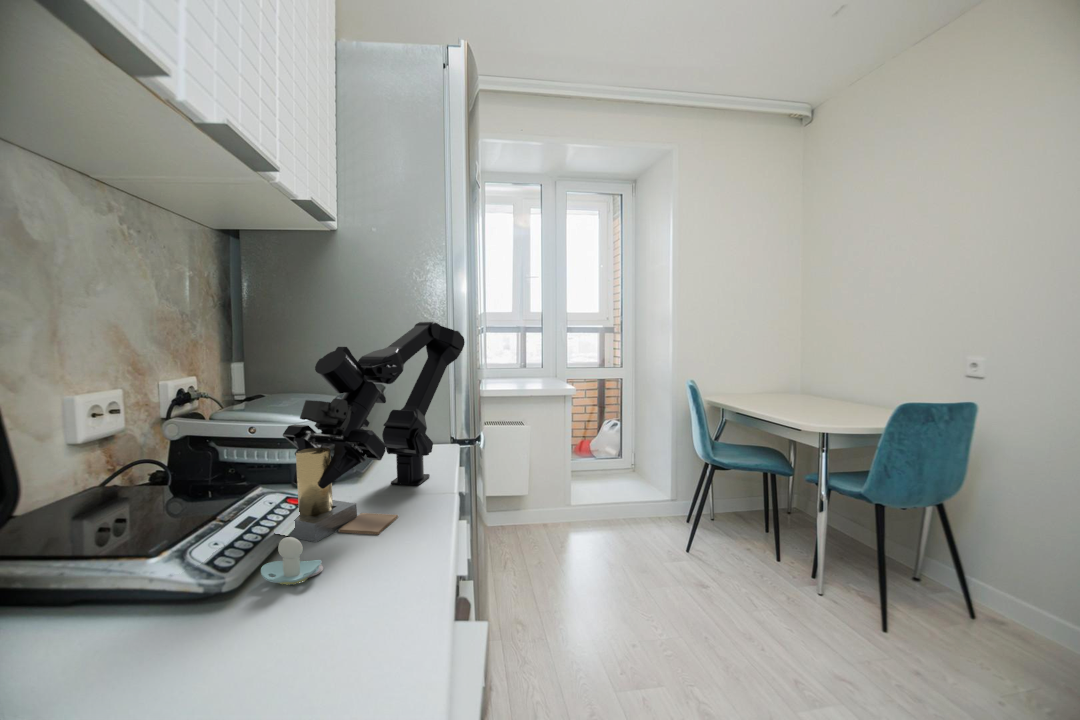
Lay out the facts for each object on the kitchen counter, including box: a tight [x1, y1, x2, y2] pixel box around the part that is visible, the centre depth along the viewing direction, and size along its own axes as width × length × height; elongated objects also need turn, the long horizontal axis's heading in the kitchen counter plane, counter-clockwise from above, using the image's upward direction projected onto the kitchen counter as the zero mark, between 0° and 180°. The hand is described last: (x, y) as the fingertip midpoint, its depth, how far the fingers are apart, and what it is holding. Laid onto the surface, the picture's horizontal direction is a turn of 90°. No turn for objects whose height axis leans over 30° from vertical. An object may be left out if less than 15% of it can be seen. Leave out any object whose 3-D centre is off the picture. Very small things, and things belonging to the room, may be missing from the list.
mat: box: [338, 512, 399, 536], centre depth 79 cm, size 7×7×1 cm
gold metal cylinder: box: [295, 447, 334, 517], centre depth 78 cm, size 5×5×13 cm
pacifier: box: [260, 536, 324, 586], centre depth 62 cm, size 7×6×6 cm
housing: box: [290, 499, 358, 543], centre depth 79 cm, size 9×9×3 cm
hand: (308, 485), depth 77 cm, fingers closed on gold metal cylinder, 5 cm apart
